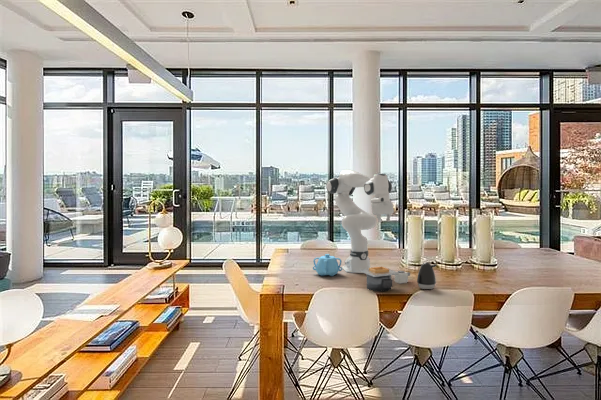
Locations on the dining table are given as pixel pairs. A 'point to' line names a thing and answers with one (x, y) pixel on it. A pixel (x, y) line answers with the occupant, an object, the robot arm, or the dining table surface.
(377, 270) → the clip collar
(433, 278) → the pump dispenser
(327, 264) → the decorative pot
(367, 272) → the motor
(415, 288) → the dining table surface
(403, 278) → the pump housing
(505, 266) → the dining table surface
